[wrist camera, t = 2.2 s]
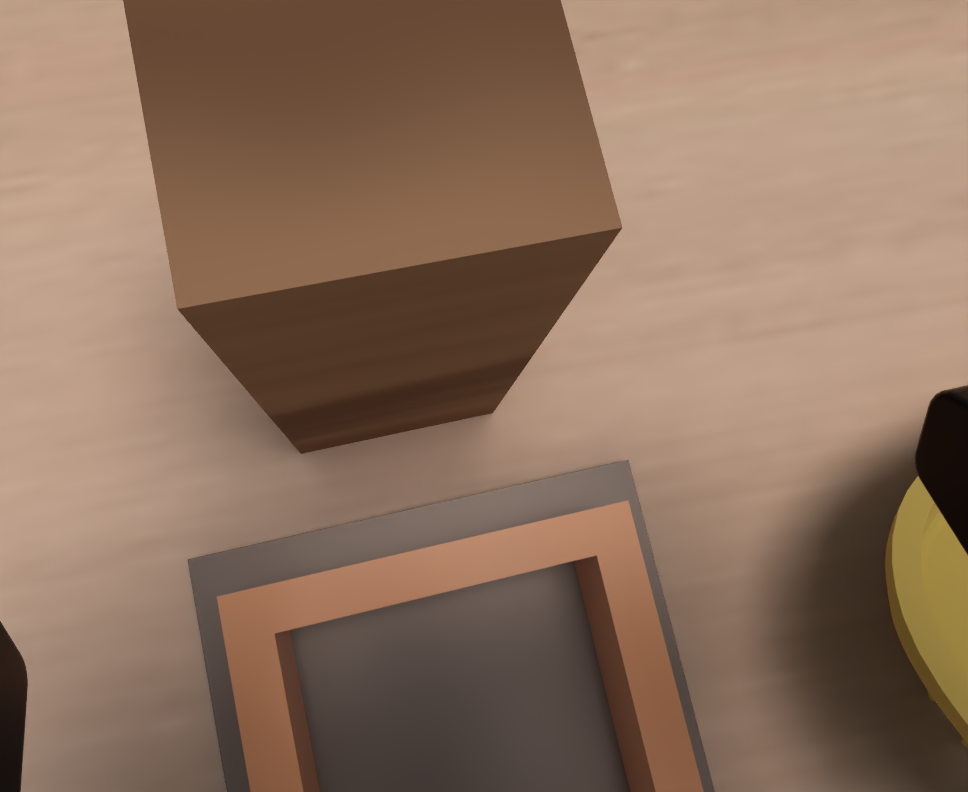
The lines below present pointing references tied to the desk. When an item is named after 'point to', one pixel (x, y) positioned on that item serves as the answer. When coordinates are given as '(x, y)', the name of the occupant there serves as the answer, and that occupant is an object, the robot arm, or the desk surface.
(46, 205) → the desk surface
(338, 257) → the walnut post
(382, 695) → the socket board
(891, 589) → the plastic component
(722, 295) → the desk surface
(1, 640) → the robot arm
